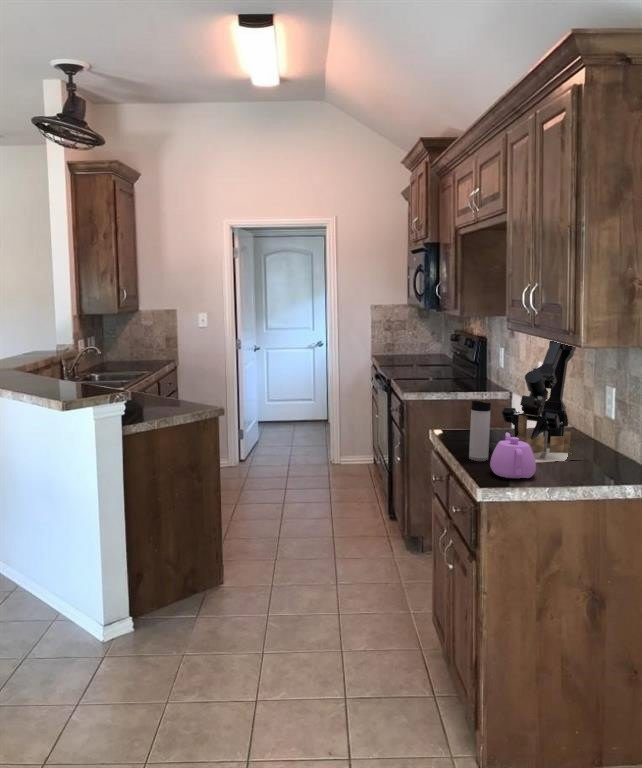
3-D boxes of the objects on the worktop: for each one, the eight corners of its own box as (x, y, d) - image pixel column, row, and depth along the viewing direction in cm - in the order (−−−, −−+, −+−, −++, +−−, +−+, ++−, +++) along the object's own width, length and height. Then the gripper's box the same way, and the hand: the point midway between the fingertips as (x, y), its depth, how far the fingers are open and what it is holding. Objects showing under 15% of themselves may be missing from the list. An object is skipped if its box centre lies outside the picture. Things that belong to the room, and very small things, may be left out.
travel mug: (464, 459, 239) (467, 399, 236) (475, 456, 244) (477, 397, 241) (481, 462, 235) (484, 402, 232) (491, 459, 239) (494, 400, 237)
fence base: (566, 451, 253) (567, 430, 252) (570, 453, 250) (572, 432, 250) (543, 452, 251) (544, 431, 250) (547, 454, 248) (549, 433, 247)
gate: (539, 450, 251) (541, 412, 249) (545, 452, 249) (548, 414, 247) (514, 454, 245) (517, 415, 243) (521, 455, 243) (523, 416, 241)
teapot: (542, 484, 210) (544, 444, 208) (495, 482, 210) (497, 443, 209) (525, 467, 230) (527, 431, 228) (483, 466, 230) (485, 430, 229)
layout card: (556, 448, 258) (556, 447, 258) (586, 460, 241) (586, 459, 241) (503, 450, 253) (503, 450, 253) (530, 462, 236) (530, 462, 236)
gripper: (505, 383, 248) (491, 419, 241) (560, 390, 238) (547, 427, 230) (511, 403, 256) (498, 438, 248) (564, 410, 245) (552, 447, 238)
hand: (523, 437), depth 241 cm, fingers open, 5 cm apart
